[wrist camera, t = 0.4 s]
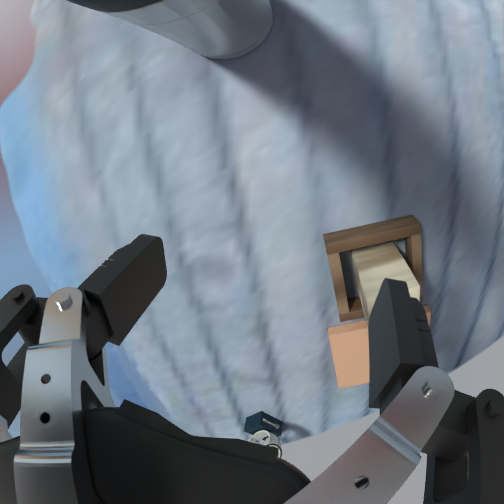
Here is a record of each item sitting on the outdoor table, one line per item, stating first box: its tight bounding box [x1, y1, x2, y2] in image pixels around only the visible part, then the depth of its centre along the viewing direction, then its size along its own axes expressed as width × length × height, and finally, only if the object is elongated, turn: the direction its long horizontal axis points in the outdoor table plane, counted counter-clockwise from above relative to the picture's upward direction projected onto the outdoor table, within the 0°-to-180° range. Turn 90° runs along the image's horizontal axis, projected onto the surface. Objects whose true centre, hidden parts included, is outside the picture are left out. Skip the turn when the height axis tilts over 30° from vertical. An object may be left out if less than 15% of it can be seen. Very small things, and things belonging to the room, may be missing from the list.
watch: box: [244, 411, 283, 458], centre depth 45 cm, size 6×8×11 cm
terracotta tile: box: [328, 305, 431, 388], centre depth 37 cm, size 12×14×2 cm
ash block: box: [351, 241, 420, 327], centre depth 28 cm, size 5×5×9 cm
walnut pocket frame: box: [323, 215, 422, 322], centre depth 31 cm, size 10×10×2 cm
